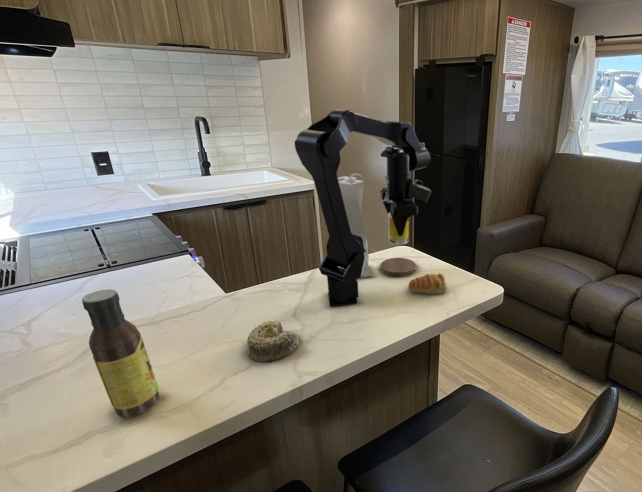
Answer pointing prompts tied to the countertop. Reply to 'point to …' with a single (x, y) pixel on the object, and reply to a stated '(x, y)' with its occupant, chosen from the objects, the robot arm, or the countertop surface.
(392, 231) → the supplement bottle
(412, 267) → the brown round coaster
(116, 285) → the countertop surface
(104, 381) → the sauce bottle
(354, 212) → the skyscraper
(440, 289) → the pastry
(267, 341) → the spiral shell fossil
